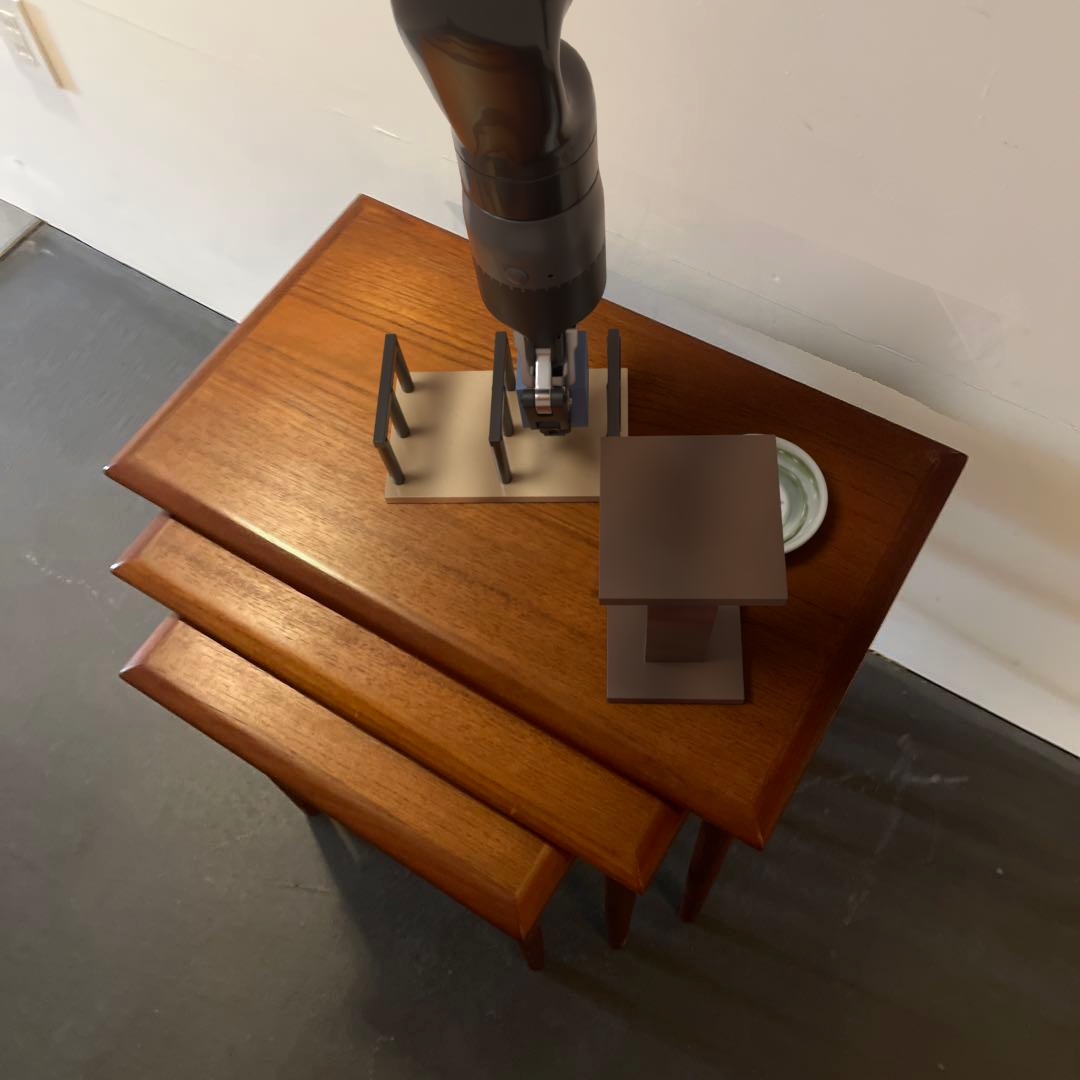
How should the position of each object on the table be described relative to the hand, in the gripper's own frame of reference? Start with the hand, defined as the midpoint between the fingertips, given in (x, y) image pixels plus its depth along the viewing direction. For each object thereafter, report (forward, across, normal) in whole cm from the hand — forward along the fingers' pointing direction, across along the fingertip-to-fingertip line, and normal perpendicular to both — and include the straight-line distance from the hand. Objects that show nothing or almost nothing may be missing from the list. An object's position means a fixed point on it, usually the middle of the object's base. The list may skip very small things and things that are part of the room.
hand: (556, 397), depth 69 cm
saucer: (+6, -6, -14) cm, 16 cm away
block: (0, 0, 0) cm, 0 cm away
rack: (+6, 0, +4) cm, 7 cm away
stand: (+6, -16, -8) cm, 19 cm away
